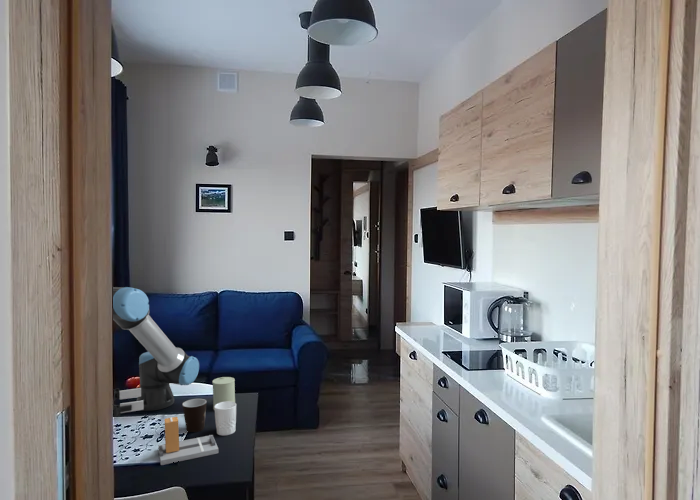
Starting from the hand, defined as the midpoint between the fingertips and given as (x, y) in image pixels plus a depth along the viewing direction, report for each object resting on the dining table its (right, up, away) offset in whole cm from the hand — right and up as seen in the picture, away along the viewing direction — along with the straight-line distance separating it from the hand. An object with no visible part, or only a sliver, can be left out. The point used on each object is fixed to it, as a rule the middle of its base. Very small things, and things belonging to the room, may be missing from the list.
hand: (142, 398), depth 154 cm
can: (+14, -18, +46) cm, 52 cm away
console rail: (+13, -20, +7) cm, 25 cm away
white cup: (+21, -19, +22) cm, 36 cm away
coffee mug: (+9, -19, +26) cm, 34 cm away
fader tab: (+8, -18, +5) cm, 21 cm away
